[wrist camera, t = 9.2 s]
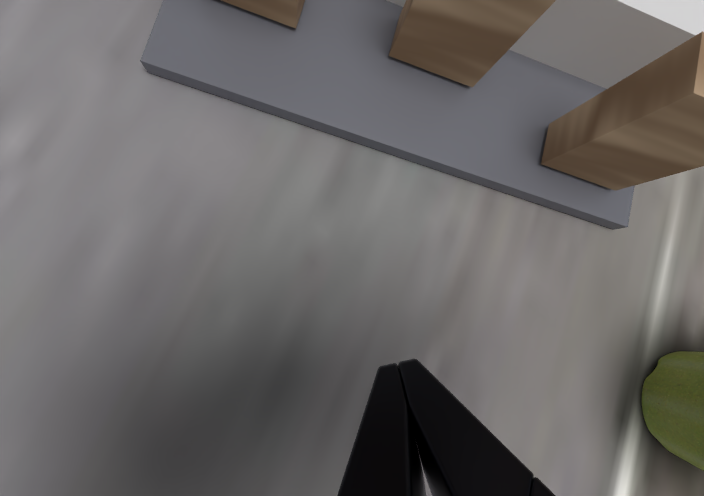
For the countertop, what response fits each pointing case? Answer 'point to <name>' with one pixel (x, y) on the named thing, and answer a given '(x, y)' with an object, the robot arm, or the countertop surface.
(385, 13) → the key console
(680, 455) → the plant pot
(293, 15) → the key
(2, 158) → the countertop surface
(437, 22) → the key middle
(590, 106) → the key
